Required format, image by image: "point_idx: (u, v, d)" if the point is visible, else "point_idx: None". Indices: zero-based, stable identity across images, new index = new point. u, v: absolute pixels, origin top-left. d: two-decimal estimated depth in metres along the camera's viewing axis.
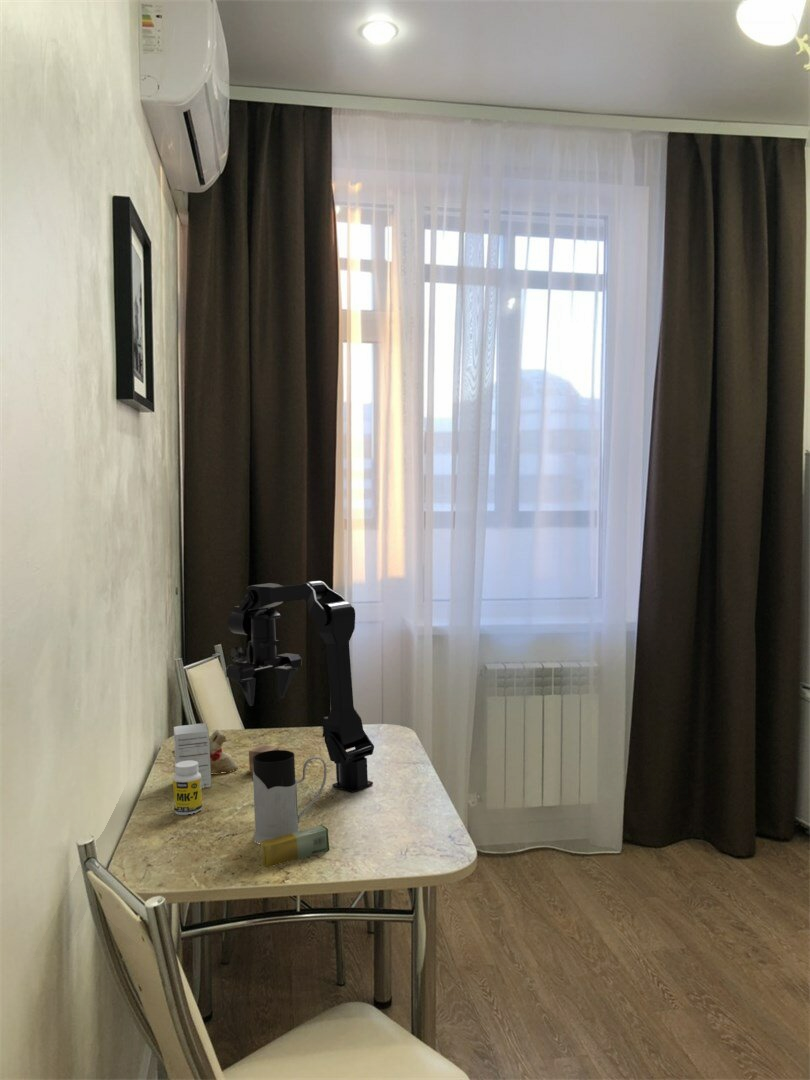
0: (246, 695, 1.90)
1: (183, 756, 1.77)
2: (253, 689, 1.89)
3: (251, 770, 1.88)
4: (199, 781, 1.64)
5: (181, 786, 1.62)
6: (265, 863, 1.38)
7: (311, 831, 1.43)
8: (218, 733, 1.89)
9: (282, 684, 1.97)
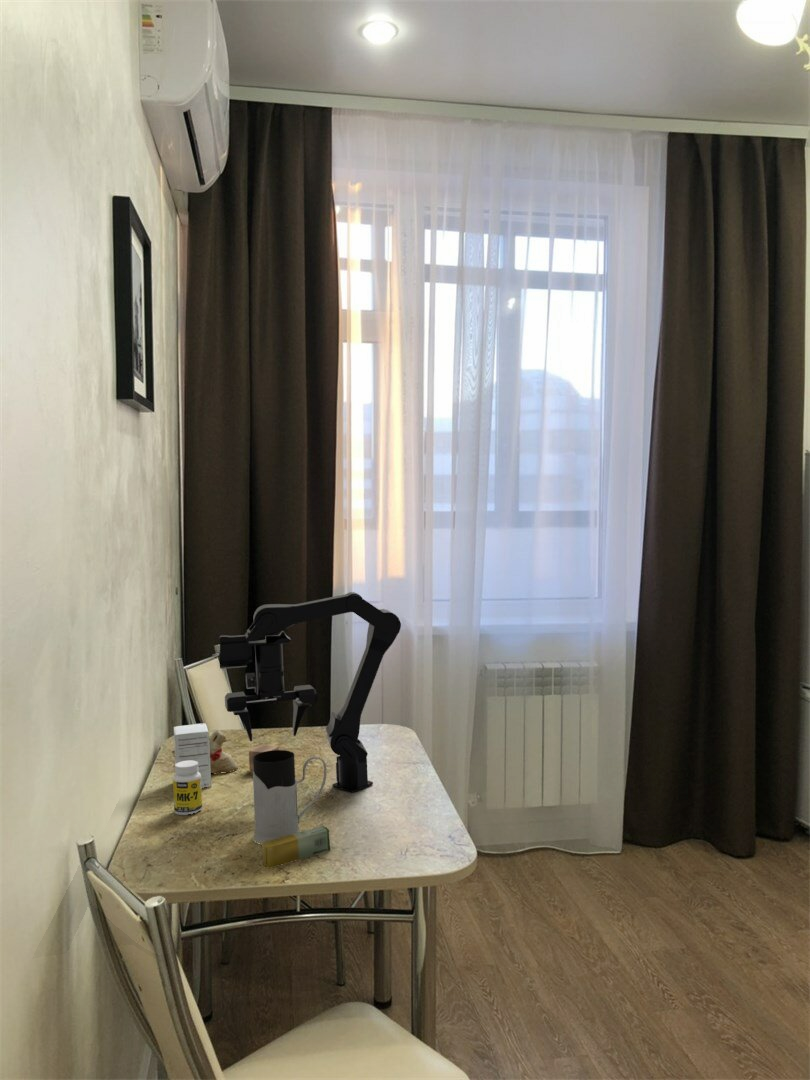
0: None
1: (183, 756, 1.77)
2: (248, 723, 1.69)
3: (251, 770, 1.88)
4: (199, 781, 1.64)
5: (181, 786, 1.62)
6: (266, 864, 1.38)
7: (311, 832, 1.42)
8: (218, 733, 1.89)
9: (294, 720, 1.73)
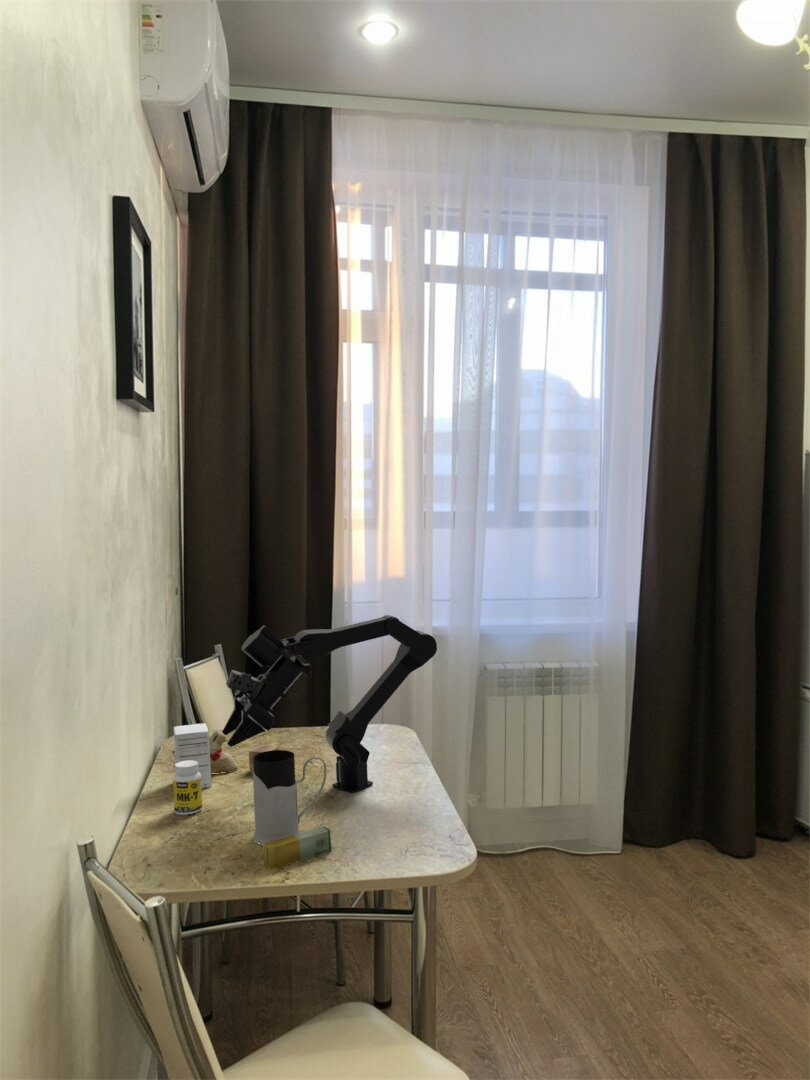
0: (237, 735, 1.62)
1: (183, 756, 1.77)
2: None
3: (251, 770, 1.88)
4: (199, 781, 1.64)
5: (181, 786, 1.62)
6: (268, 865, 1.37)
7: (313, 833, 1.42)
8: (218, 733, 1.89)
9: (236, 723, 1.72)
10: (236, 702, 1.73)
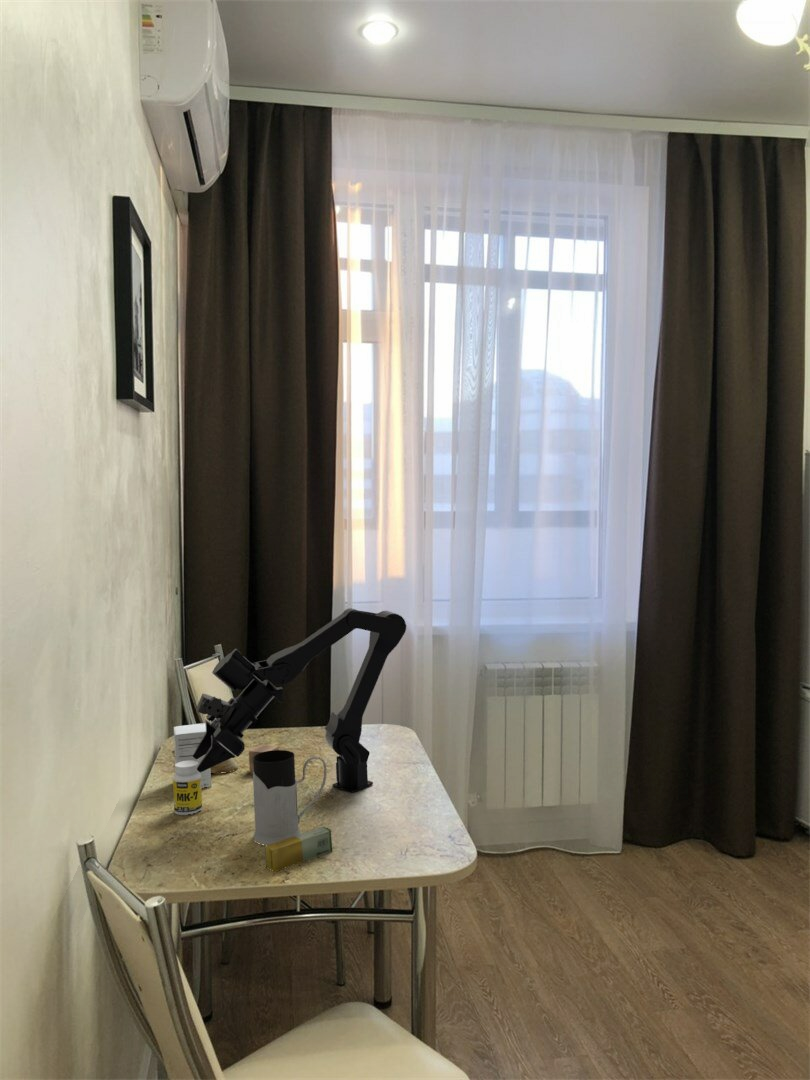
0: (206, 761, 1.61)
1: (183, 756, 1.77)
2: None
3: (251, 770, 1.88)
4: (199, 781, 1.64)
5: (181, 786, 1.62)
6: (271, 867, 1.36)
7: (314, 833, 1.42)
8: None
9: (207, 747, 1.71)
10: (207, 726, 1.71)
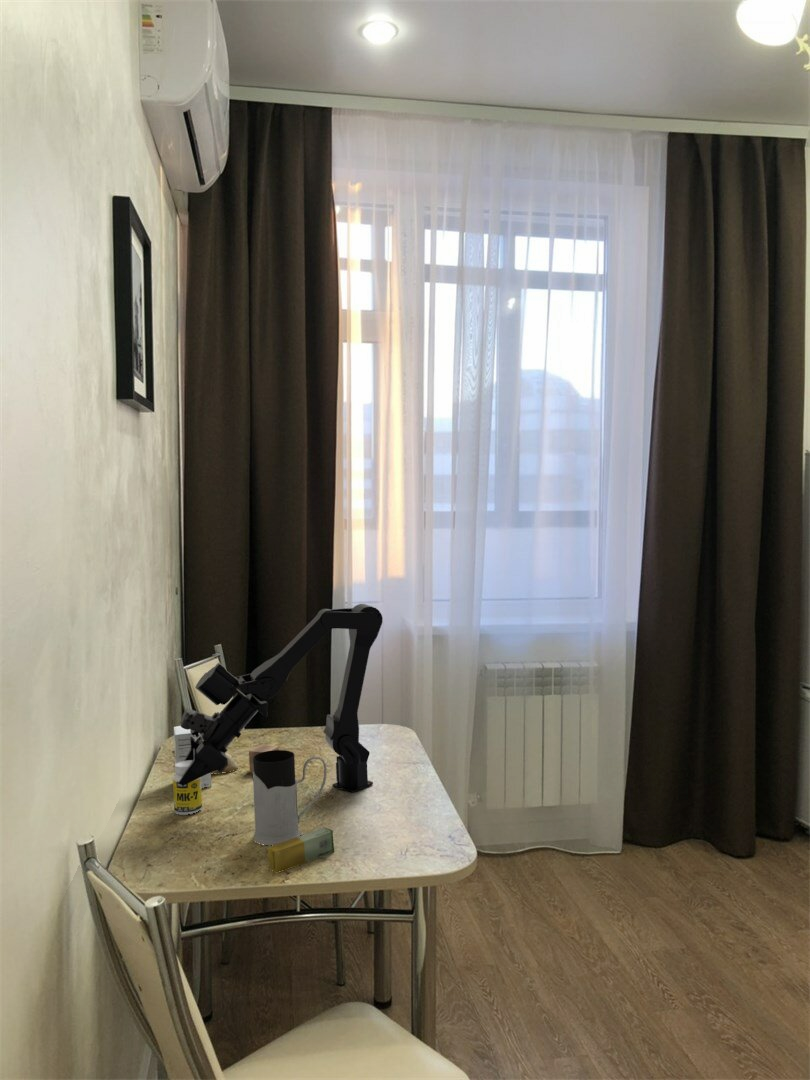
0: (188, 774, 1.61)
1: (183, 756, 1.77)
2: None
3: (251, 770, 1.88)
4: (199, 781, 1.64)
5: (181, 786, 1.62)
6: (274, 869, 1.36)
7: (316, 834, 1.41)
8: None
9: None
10: (192, 742, 1.68)
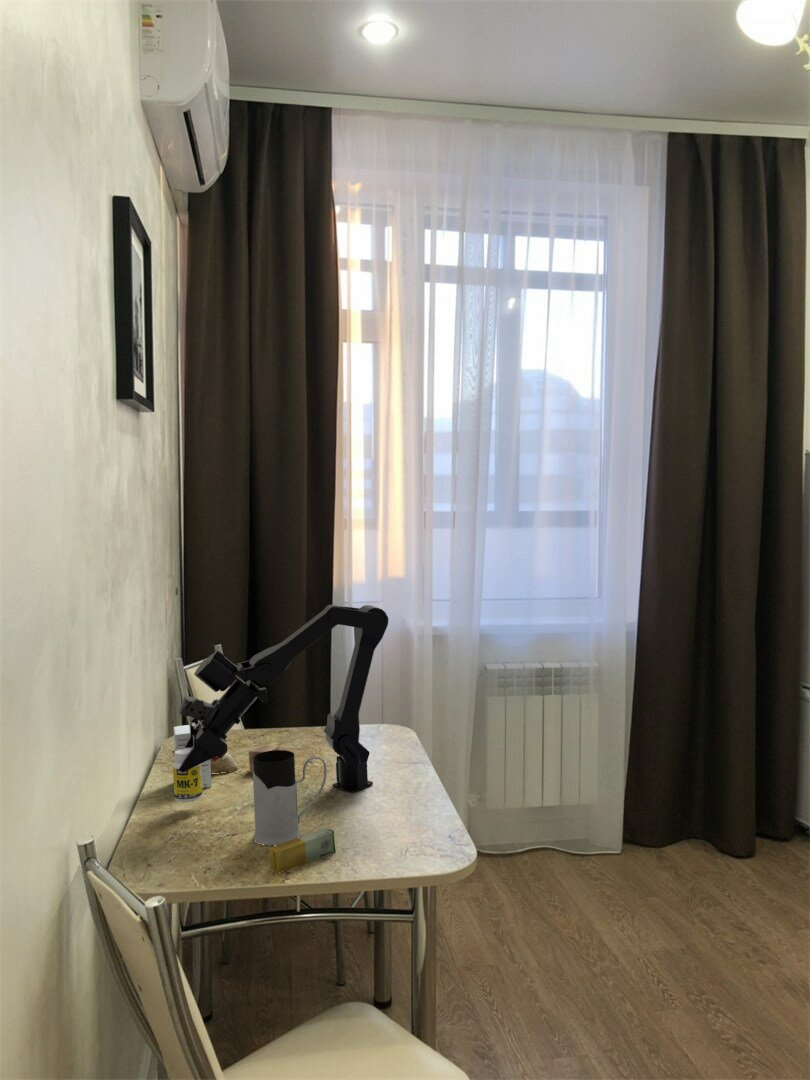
0: (188, 761, 1.61)
1: None
2: None
3: (251, 770, 1.88)
4: (199, 768, 1.64)
5: (181, 773, 1.62)
6: (275, 869, 1.36)
7: (317, 835, 1.41)
8: None
9: None
10: (192, 730, 1.68)
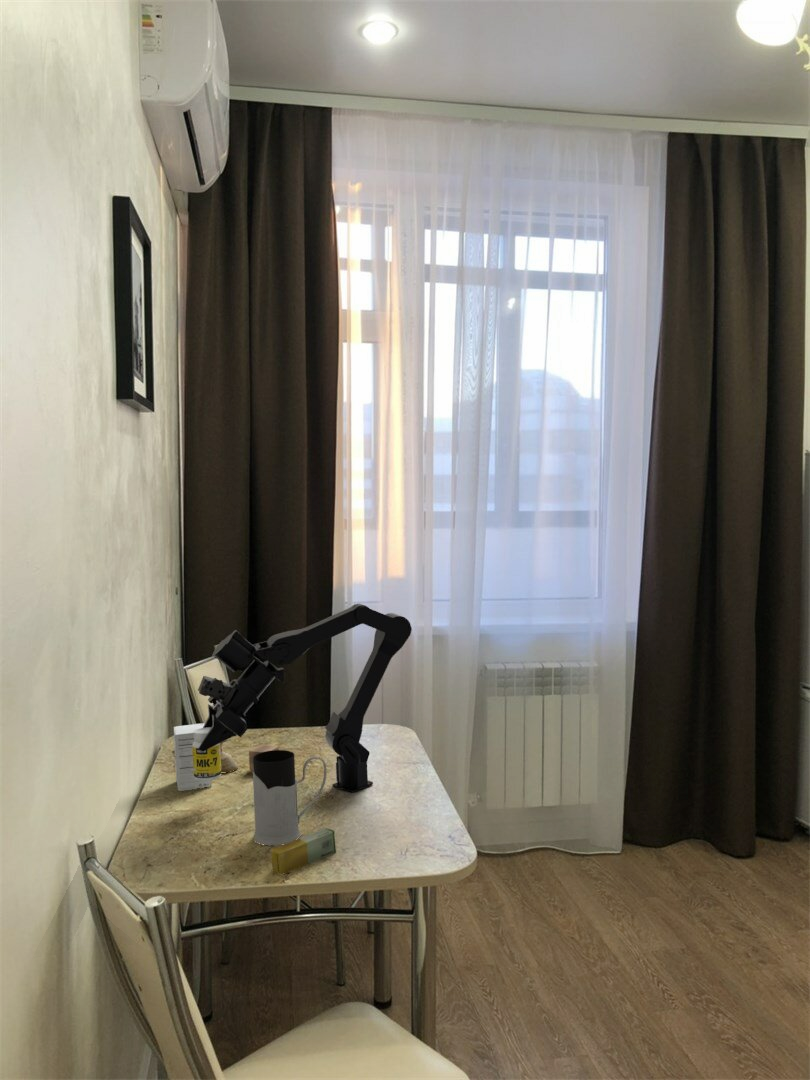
0: (208, 740, 1.62)
1: (183, 756, 1.77)
2: None
3: (251, 770, 1.88)
4: (218, 747, 1.65)
5: (201, 752, 1.63)
6: (278, 871, 1.35)
7: (318, 835, 1.41)
8: None
9: None
10: (210, 710, 1.69)
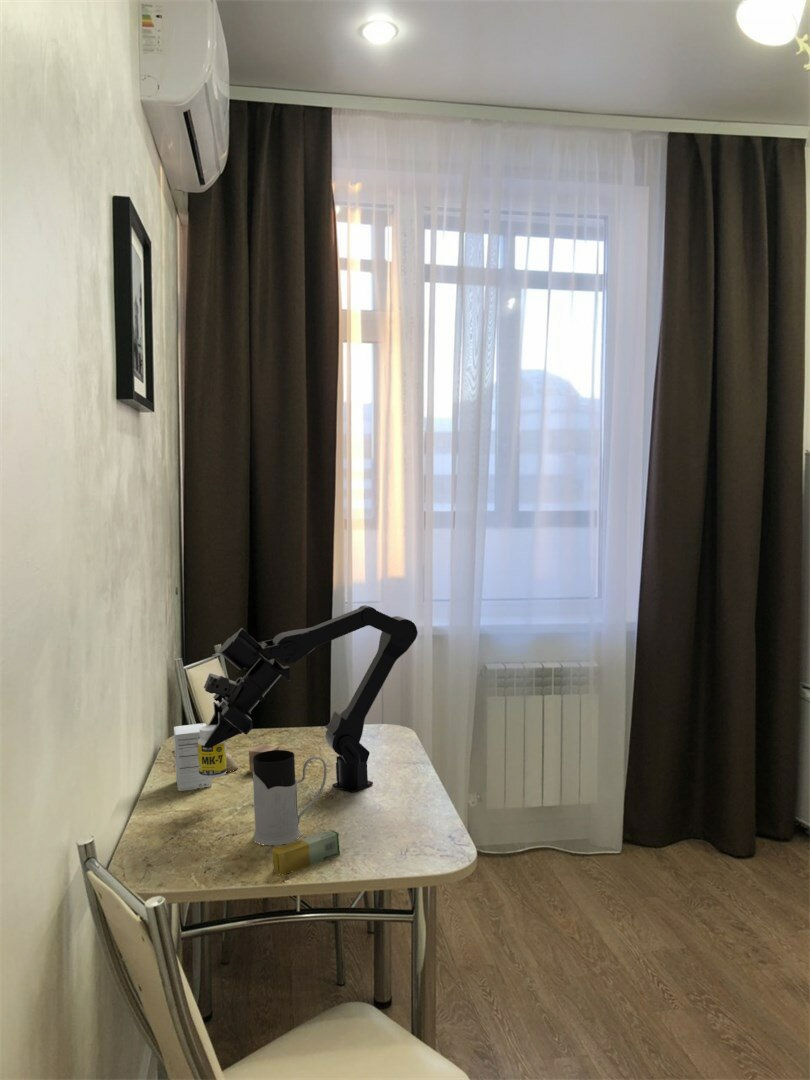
0: (214, 737, 1.63)
1: (183, 756, 1.77)
2: None
3: (251, 770, 1.88)
4: (224, 745, 1.66)
5: (206, 749, 1.64)
6: (278, 871, 1.35)
7: (321, 837, 1.40)
8: None
9: None
10: (216, 707, 1.70)
